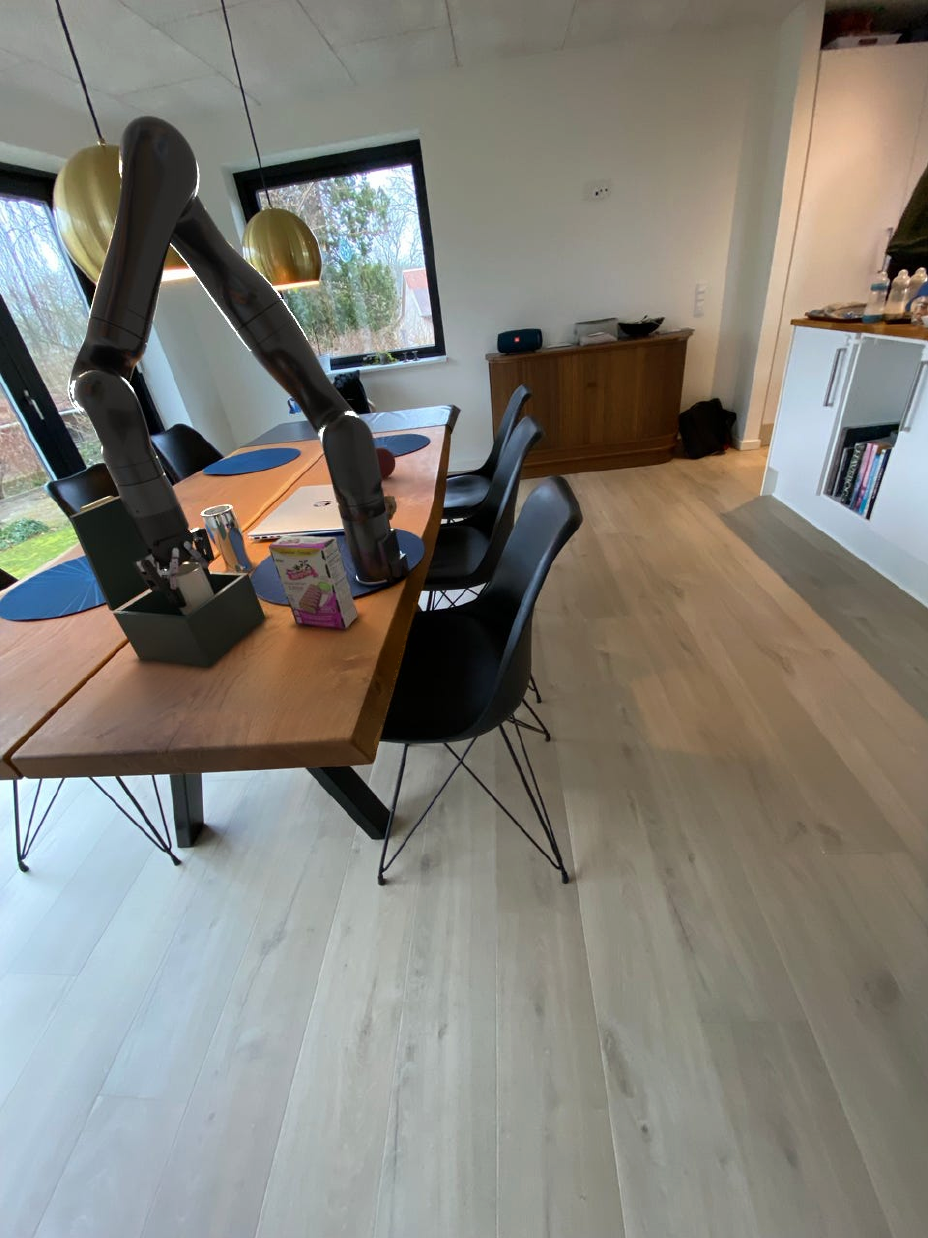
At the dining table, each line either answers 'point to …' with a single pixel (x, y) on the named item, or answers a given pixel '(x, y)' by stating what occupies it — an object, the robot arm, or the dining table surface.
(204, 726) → the dining table surface
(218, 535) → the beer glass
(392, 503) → the lion figurine
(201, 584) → the cup
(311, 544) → the candy bar box
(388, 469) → the decorative ball
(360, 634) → the dining table surface
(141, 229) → the robot arm
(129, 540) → the lid
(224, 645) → the open lidded box
